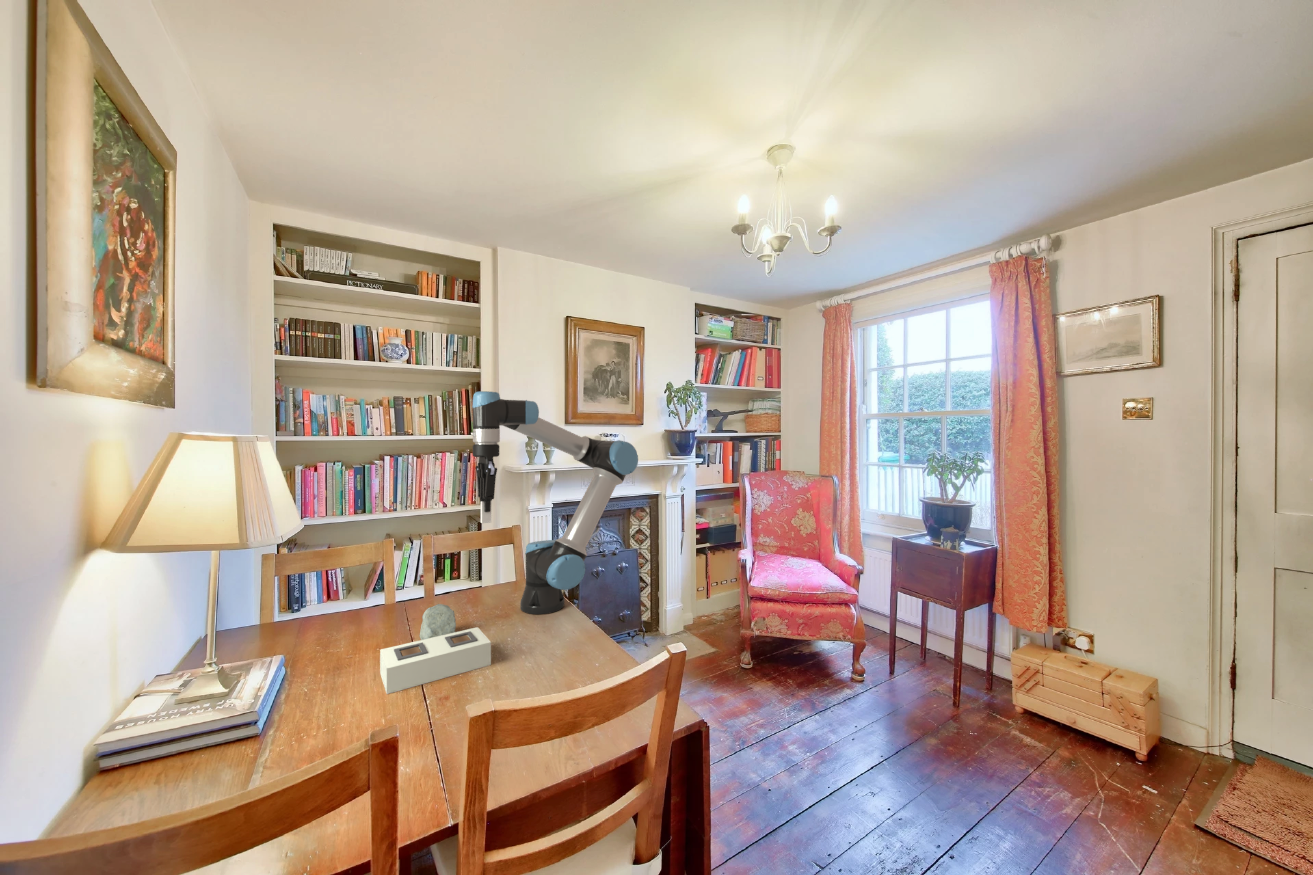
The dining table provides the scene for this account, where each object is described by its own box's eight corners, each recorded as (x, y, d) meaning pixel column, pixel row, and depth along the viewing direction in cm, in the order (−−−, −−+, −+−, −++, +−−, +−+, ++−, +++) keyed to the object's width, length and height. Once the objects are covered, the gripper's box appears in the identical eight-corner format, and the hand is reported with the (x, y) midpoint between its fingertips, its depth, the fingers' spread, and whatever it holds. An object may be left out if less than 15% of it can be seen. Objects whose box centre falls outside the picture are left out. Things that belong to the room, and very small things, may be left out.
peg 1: (418, 669, 121) (418, 646, 121) (421, 676, 118) (421, 652, 118) (400, 674, 119) (400, 650, 119) (403, 681, 116) (403, 656, 116)
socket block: (477, 648, 134) (477, 625, 134) (490, 664, 124) (490, 640, 124) (380, 673, 120) (380, 647, 120) (386, 694, 110) (386, 666, 110)
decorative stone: (423, 631, 145) (410, 613, 139) (458, 614, 149) (447, 595, 143) (429, 667, 136) (416, 649, 130) (467, 647, 139) (456, 629, 133)
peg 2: (466, 657, 128) (466, 635, 128) (470, 662, 125) (470, 640, 125) (451, 661, 126) (451, 638, 126) (454, 667, 123) (455, 644, 123)
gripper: (467, 443, 144) (466, 520, 144) (479, 444, 133) (479, 527, 134) (491, 443, 148) (491, 518, 148) (506, 443, 138) (505, 524, 138)
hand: (485, 522), depth 141 cm, fingers closed
